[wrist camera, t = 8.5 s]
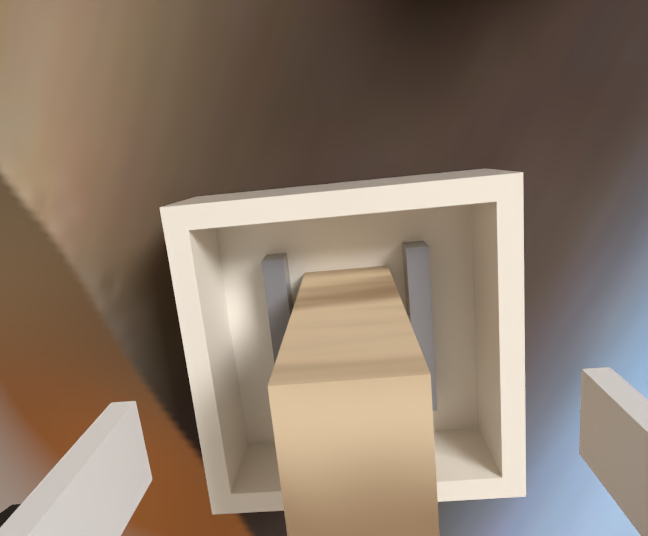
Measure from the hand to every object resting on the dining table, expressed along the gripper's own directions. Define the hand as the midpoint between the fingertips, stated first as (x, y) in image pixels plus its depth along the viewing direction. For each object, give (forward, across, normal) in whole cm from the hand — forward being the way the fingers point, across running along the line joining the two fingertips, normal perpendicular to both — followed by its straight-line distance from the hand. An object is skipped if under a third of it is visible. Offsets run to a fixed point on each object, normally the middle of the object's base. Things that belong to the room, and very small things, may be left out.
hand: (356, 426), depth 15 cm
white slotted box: (+11, 0, -1) cm, 11 cm away
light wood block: (+10, 0, -1) cm, 10 cm away
